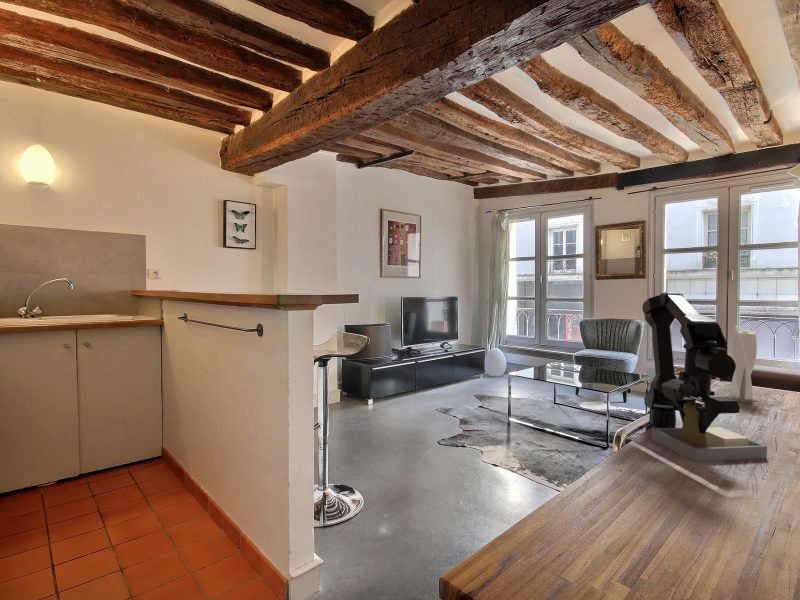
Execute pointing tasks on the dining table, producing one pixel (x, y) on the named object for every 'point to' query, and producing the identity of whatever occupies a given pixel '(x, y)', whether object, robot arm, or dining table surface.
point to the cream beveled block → (724, 438)
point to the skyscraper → (743, 365)
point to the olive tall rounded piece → (692, 426)
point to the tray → (671, 441)
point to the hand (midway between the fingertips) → (693, 429)
